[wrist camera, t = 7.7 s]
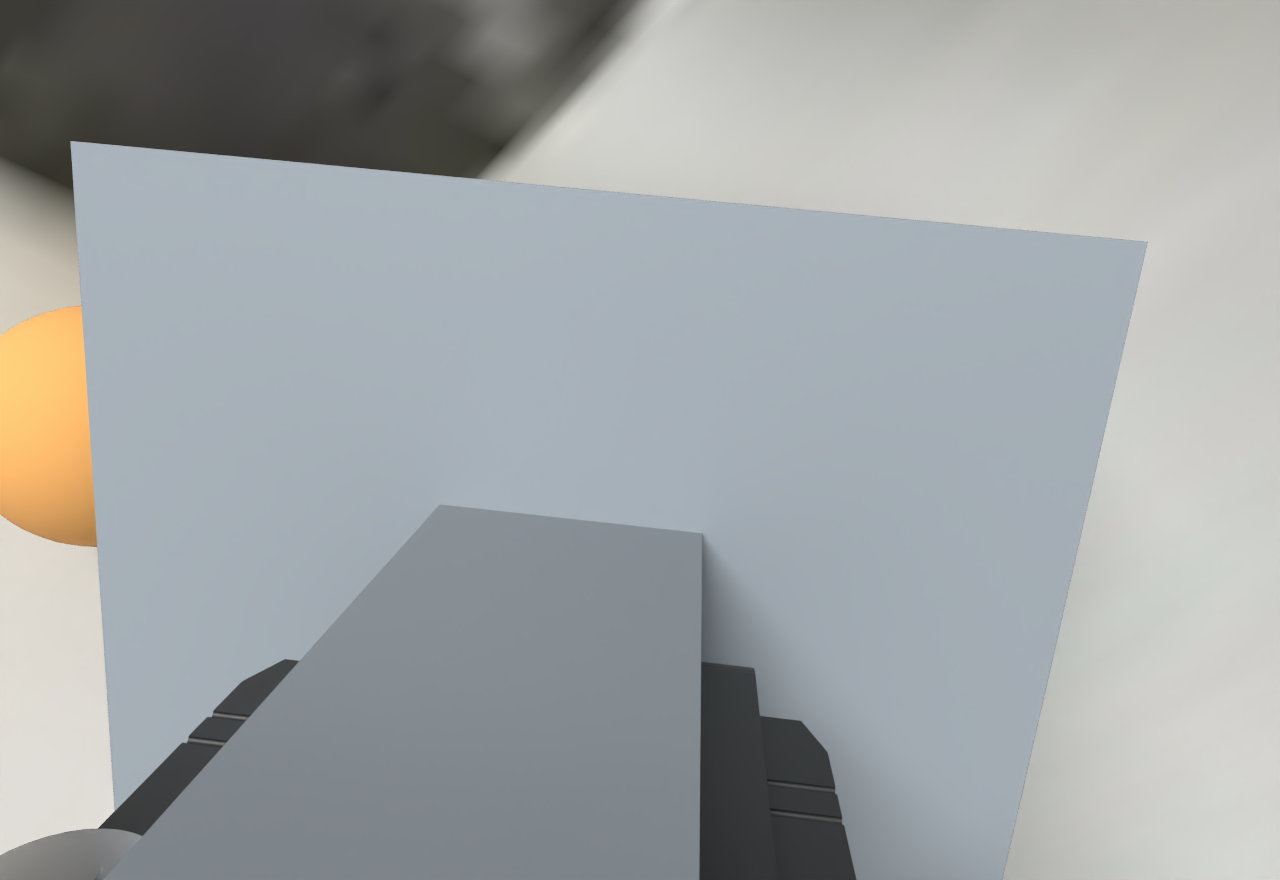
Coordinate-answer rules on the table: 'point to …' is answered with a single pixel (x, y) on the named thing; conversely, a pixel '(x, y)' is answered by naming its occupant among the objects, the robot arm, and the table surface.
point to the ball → (46, 429)
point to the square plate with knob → (572, 510)
